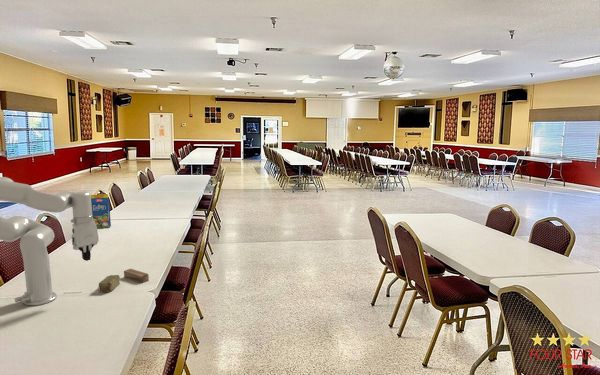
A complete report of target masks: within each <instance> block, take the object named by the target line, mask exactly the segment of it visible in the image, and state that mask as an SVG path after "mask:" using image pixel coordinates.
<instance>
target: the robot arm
mask: <svg viewBox="0 0 600 375" xmlns="http://www.w3.org/2000/svg"><path fill="white" fill-rule="evenodd" d="M91 195H92V194H91V193H90V192H89V191H76V192H75V191H60V192H58V193H56V194H50V193H45V192H41V191H37V190H36V189H34V188H33V186H31V185H29V184H26V183H22V182H21V183H20V182H16V181H14V180H13V179H12V178H9V177H7V176H0V201H3V202H9V203H14V204H19V205H24V206H26V207H28V208H31V209H34V210H37V211H44V212H49V213H62V212H64V211H65V210H67V209H69V208H70V209H72V219H70V223H72V224H71V225H72V226H71V245H72V250H74V251H79V252H81V255H82V256H81V258H82V259H83V261H86V262H88V261H91V256H92V255H91V254H92V253H91V251H92V249H93V247H94V246H97V245H98V243H99V242H100V238H99V233H98V228H97V227H96V224H95V221H93V217H92V205H91ZM18 239H20V241H19V248H20V252H21V256H22V261H23V268H24V269H23V270H24V279H25V285H26V286H25V288H26V291H24V292H23V294H22V295H21V296H17V297H15V298H14V299H13V300H14V302H15V303H19V302H21V303H23V304H24V305H25V306H40V305H45V304H47V303H50V302H52V301H54V300H56V298H57V297H58V294H57V292H53V283H52V273H51V272H52V271H51V265H50V264H51V263H50V257H49V253H48V250H47V247H48V246H49V245H51V244H52V242H53V241H54V240H55V233H54V230H53V229H52V228H51V227H49V226H48V225H45V224H43V223H41V222H39V221H36V220H33V219H32V218H31V219H30V218H28V217H25V216H21V215H16V216H15V215H14V216H12V217H11V216H10V217H9V218H5V217H2V216H0V240H1V241H3V242H8V243H12V242H15V241H17V240H18Z"/></svg>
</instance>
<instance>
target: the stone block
mask: <svg viewBox="0 0 600 375" xmlns="http://www.w3.org/2000/svg"><path fill="white" fill-rule="evenodd" d="M120 277H121V276H120V275H119V274H114V275H113V274H110V275H107V276H105V277H104V278H103V279H102V280H101V281H100V282H98V291H99V293H103V294H105V293H107V292H108V293H110V292H112V291H114V290H115V289H116V288H117V287H118V286H119V285H120Z"/></svg>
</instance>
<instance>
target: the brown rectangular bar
mask: <svg viewBox="0 0 600 375" xmlns="http://www.w3.org/2000/svg"><path fill="white" fill-rule="evenodd" d="M123 278H125V279H128V280H132V281H134V282H137V283H140V284H143V283H146V282H149V281H150V280H149V279H150V277H149V273H146V272H143V271H140V270H137V269H133V268H128V269H125V270H123Z"/></svg>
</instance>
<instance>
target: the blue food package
mask: <svg viewBox="0 0 600 375" xmlns="http://www.w3.org/2000/svg"><path fill="white" fill-rule="evenodd" d="M90 195H91V205H92V217H93V221H95V224H96V227H97V229H110V228H111V226H112V221H111V208H110V207H111V206H110V205H111V204H110V198H109V194H108V193H105V194H90Z"/></svg>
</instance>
